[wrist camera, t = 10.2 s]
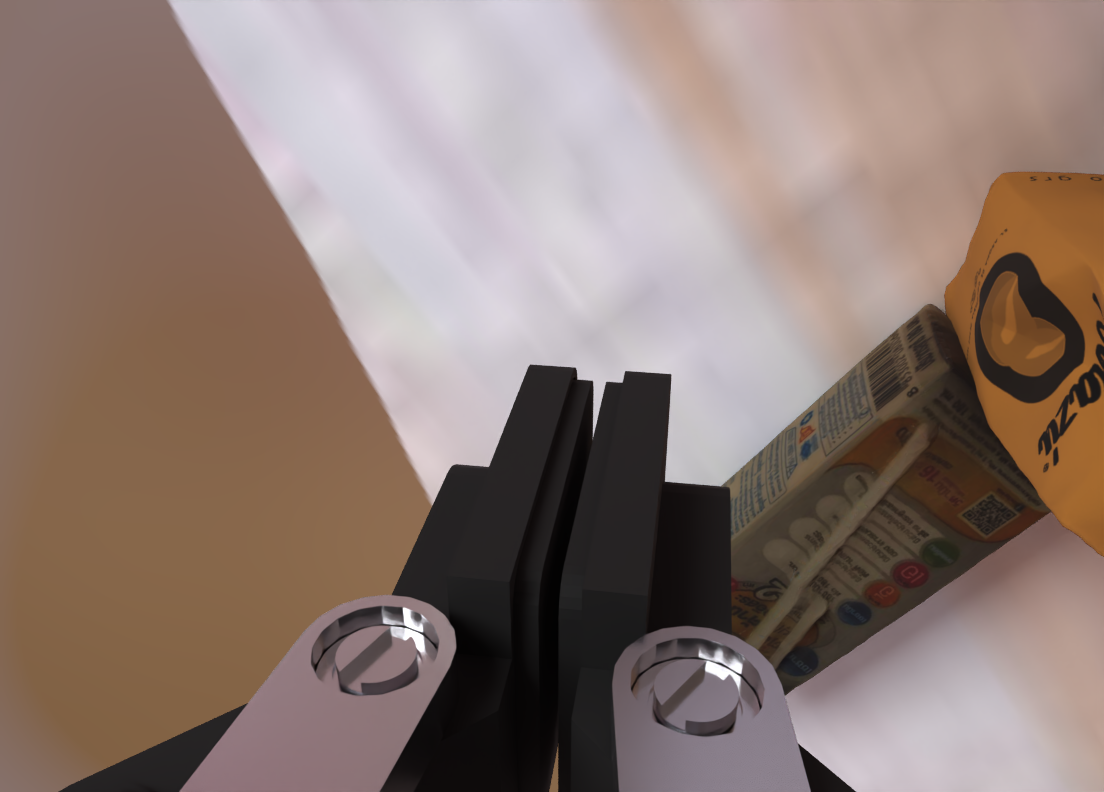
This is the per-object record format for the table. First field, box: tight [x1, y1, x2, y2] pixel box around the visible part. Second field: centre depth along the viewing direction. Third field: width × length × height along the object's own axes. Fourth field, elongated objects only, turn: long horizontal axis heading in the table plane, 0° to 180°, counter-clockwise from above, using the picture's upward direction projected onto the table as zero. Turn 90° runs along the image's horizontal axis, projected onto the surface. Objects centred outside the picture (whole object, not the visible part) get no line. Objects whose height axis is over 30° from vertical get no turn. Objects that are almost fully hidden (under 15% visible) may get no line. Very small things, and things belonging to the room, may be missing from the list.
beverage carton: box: [721, 304, 1051, 695], centre depth 42 cm, size 8×19×7 cm, turn 143°
